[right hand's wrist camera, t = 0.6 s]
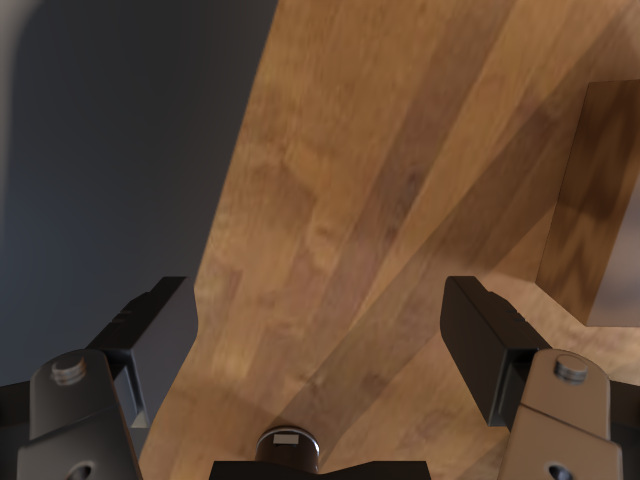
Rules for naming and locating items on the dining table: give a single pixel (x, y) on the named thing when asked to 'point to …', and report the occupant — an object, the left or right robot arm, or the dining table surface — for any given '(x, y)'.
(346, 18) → the dining table surface
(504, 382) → the right robot arm
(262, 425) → the dining table surface
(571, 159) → the box
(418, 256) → the dining table surface
